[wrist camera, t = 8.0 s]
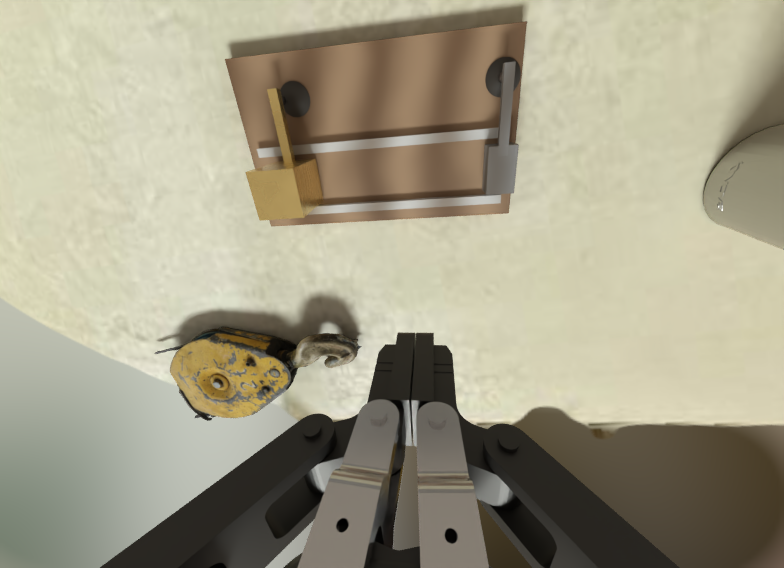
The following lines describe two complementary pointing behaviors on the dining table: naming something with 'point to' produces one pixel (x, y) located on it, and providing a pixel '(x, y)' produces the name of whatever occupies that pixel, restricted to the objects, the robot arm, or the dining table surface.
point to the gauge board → (394, 121)
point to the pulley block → (247, 368)
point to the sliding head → (285, 176)
